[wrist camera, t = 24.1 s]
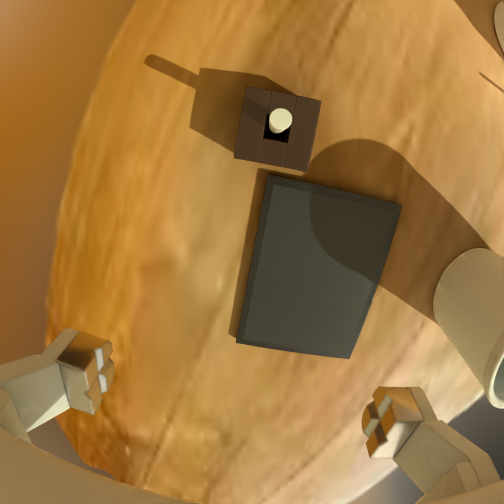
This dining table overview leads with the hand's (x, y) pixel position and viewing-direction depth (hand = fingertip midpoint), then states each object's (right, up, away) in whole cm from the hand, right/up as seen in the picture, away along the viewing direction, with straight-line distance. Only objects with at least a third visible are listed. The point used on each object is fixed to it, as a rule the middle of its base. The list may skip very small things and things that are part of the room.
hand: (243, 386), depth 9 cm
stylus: (+3, +17, +25) cm, 30 cm away
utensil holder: (+32, -2, +30) cm, 44 cm away
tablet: (+8, +1, +30) cm, 31 cm away
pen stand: (+3, +17, +25) cm, 30 cm away
